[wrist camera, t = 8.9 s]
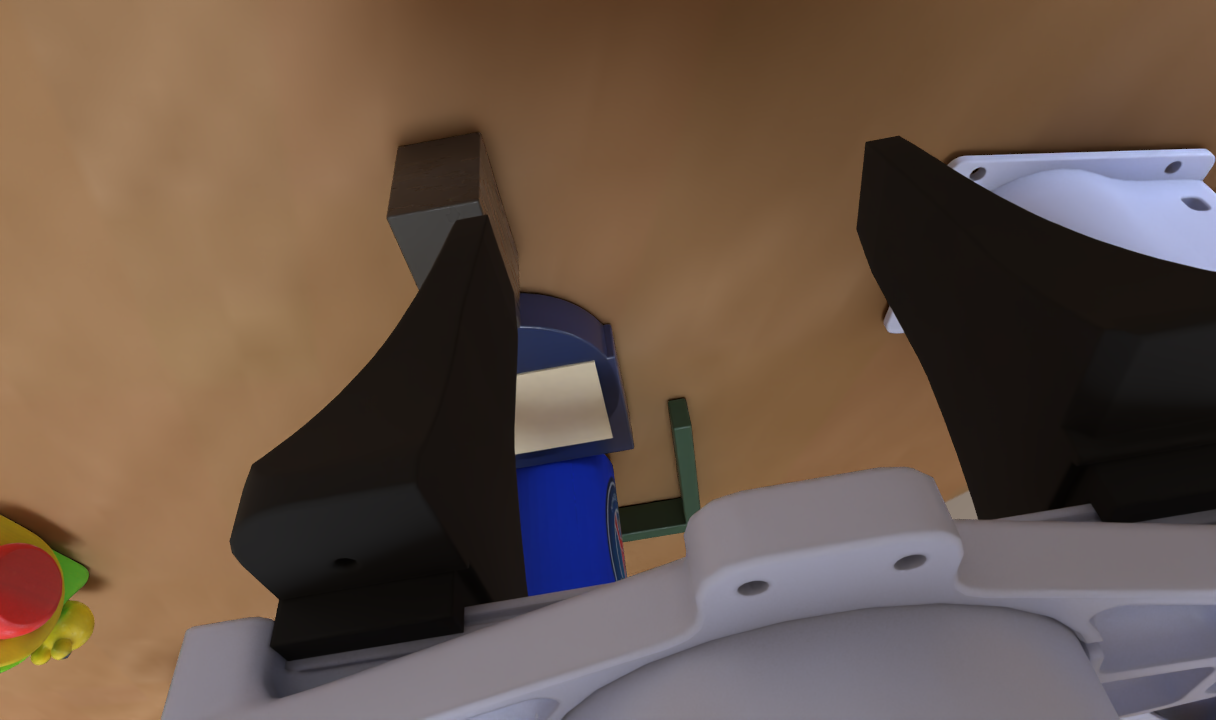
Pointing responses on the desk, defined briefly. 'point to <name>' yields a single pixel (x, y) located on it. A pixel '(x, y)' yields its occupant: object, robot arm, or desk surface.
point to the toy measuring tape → (38, 600)
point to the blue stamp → (547, 327)
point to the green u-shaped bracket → (678, 511)
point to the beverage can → (570, 525)
